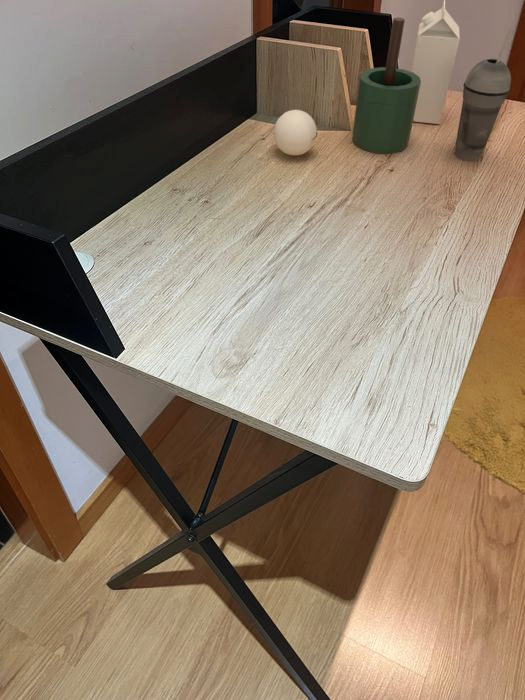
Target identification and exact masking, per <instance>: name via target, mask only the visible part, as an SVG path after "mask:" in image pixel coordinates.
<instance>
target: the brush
mask: <svg viewBox="0 0 525 700" xmlns="http://www.w3.org/2000/svg"><path fill="white" fill-rule="evenodd" d="M405 21H406V20H405V18H403V17H393V19H392V25H391V31H390V38H389V44H388V51H387V56H386V63H385V67H386V69H385V75H384V82H383V85H385V86H394V81H395V75H396V69H397V68H398V63H399V58H400V57H399V56H400V50H401V45H402V39H403V35H404V28H405Z"/></svg>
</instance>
